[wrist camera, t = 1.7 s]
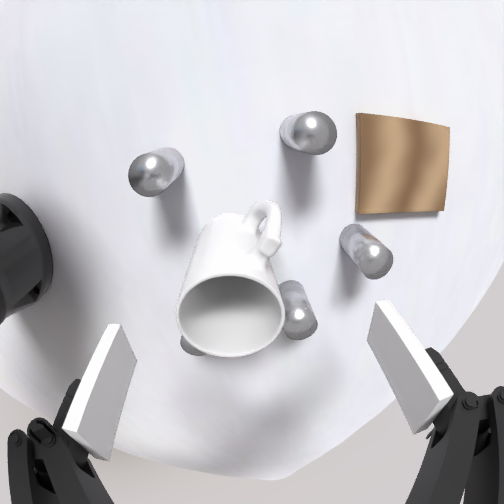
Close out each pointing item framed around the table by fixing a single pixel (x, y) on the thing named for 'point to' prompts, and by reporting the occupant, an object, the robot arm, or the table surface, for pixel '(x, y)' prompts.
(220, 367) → the table surface
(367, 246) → the cylinder
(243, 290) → the mug
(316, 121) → the cylinder
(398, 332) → the robot arm
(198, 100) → the table surface
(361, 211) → the trivet
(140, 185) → the cylinder
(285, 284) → the cylinder
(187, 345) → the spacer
